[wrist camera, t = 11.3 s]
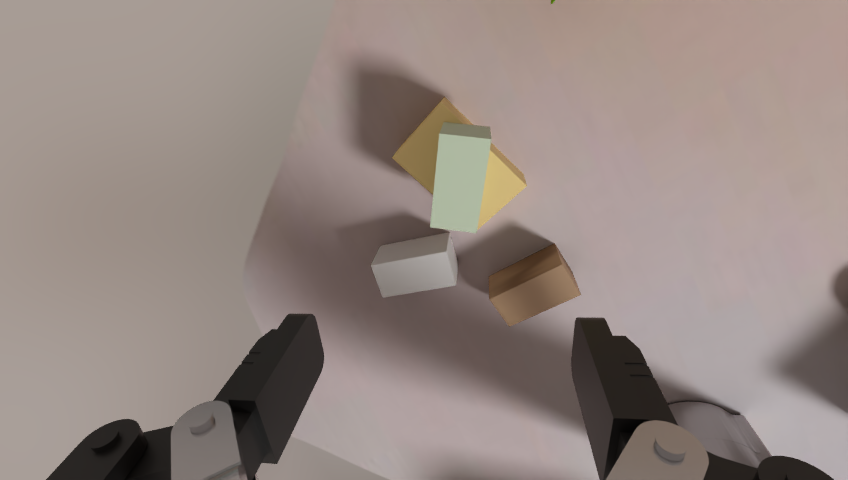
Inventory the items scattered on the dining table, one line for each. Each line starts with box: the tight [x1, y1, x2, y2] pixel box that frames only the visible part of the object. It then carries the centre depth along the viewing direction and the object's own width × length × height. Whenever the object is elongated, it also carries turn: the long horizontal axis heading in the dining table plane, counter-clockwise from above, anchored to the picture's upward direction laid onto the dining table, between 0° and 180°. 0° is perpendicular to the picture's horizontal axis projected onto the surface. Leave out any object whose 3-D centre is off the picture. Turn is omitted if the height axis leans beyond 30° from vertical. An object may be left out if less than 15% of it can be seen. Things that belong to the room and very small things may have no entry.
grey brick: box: [371, 232, 458, 298], centre depth 33 cm, size 6×3×4 cm, turn 106°
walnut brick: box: [489, 243, 581, 327], centre depth 33 cm, size 6×3×4 cm, turn 125°
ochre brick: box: [392, 97, 527, 230], centre depth 30 cm, size 8×5×3 cm, turn 48°
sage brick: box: [430, 122, 491, 233], centre depth 27 cm, size 6×3×4 cm, turn 175°
